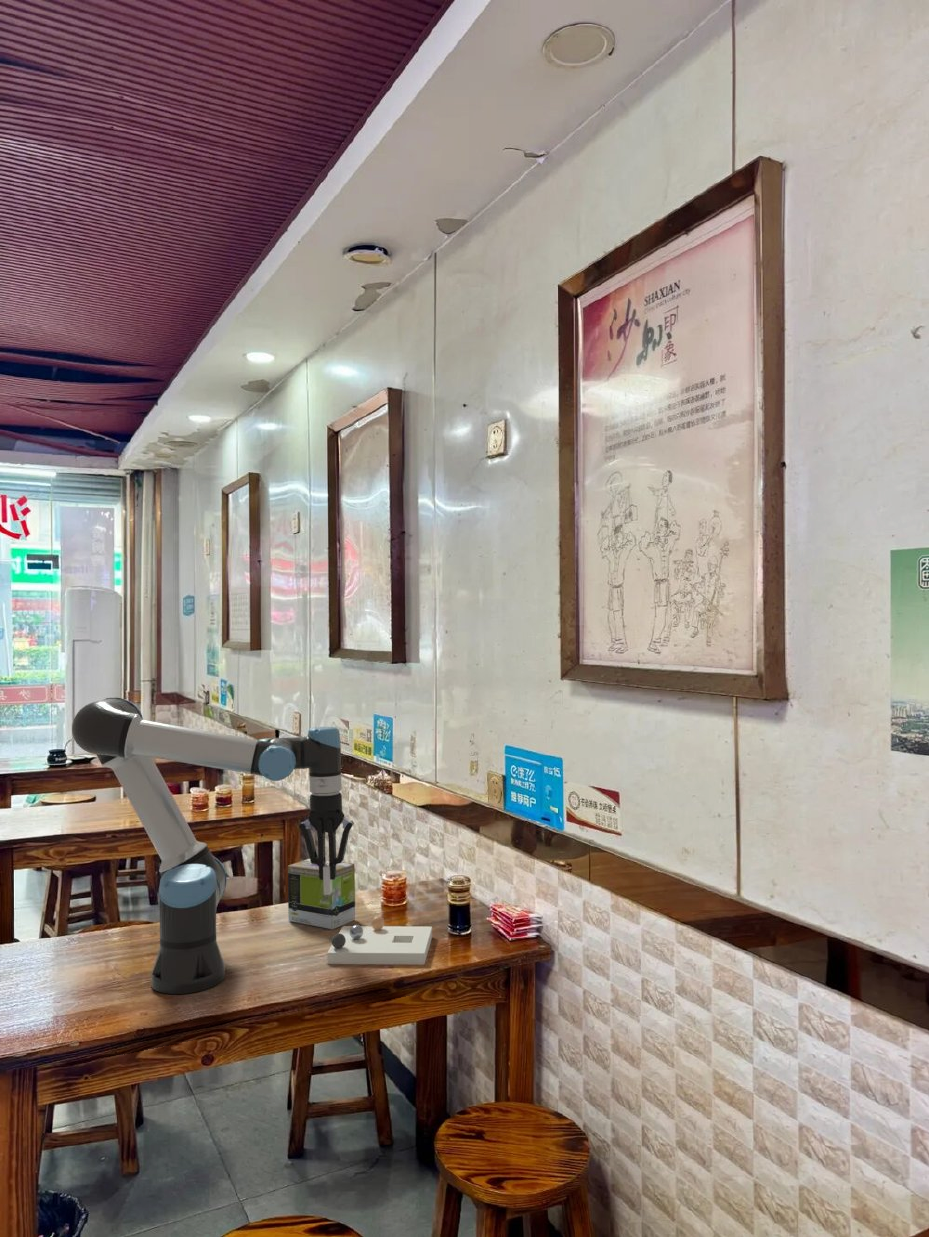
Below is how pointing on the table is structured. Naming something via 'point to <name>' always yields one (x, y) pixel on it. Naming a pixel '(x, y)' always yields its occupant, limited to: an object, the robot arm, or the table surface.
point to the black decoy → (338, 940)
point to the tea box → (321, 895)
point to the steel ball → (356, 932)
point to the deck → (383, 946)
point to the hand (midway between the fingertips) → (328, 892)
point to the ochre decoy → (377, 923)
